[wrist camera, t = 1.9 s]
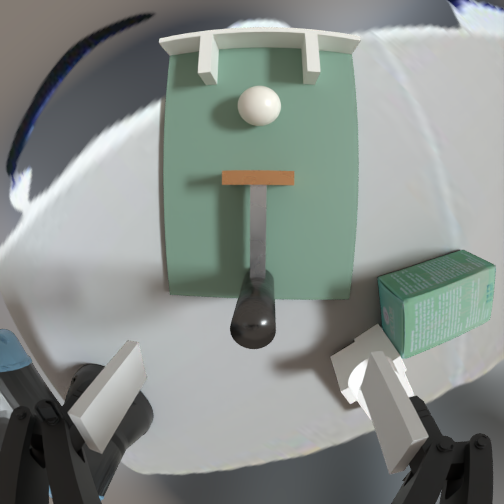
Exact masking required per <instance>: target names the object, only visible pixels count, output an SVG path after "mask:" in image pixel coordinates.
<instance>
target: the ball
mask: <svg viewBox="0 0 504 504" xmlns="http://www.w3.org/2000/svg"><path fill="white" fill-rule="evenodd" d="M280 110H281V102H280V99H279V97H278V95H277V94H276V93H275V92H274V91H273V90H272V89H270V88H268V87H265V86H253V87H250V88H248V89H247V90H245V91H244V92H243V93H242V94H241V96H240V98H239V100H238V111H239V114H240V116H241V117H242V119H243V120H244V121H246V122H247V123H249V124H251V125H255V126H265V125H268V124H270V123H272V122H273V121H274V120H275V119H276V118H277V117H278V115H279V113H280Z"/></svg>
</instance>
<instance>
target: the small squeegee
mask: <svg viewBox="0 0 504 504" xmlns="http://www.w3.org/2000/svg"><path fill="white" fill-rule="evenodd" d="M222 185H250V270H249V271H248V272H247V273H246V274H245V276H244V279H243V283H242V286H241V290H240V293H239V297H238V301H237V304H236V308H235V311H234V315H233V318H232V322H231V326H230V332H231V335H232V337H233V339H234V340H235V341H236V342H237V343H238V344H239V345H241V346H243V347H245V348H249V349H259V348H262V347H265V346H267V345H268V344H269V343H270V342H271V341H272V340H273V338H274V336H275V333H276V323H275V292H274V278H273V276H272V274H271V273H270V272H269V271H268V270H266V211H267V185H288V186H292V185H294V171H273V170H228V171H222Z"/></svg>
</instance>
